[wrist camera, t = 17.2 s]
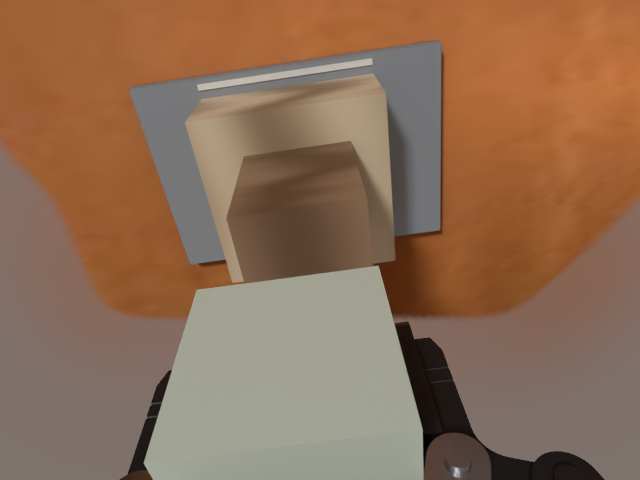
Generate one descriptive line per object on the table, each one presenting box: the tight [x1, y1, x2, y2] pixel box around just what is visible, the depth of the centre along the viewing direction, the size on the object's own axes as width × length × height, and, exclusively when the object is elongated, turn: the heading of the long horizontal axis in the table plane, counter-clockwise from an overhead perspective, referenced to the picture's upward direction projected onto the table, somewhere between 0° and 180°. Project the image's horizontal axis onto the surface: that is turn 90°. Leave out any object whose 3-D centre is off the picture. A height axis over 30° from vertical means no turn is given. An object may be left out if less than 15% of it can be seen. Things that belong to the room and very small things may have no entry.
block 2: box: [144, 266, 424, 480], centre depth 11 cm, size 5×5×5 cm
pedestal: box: [185, 74, 396, 283], centre depth 24 cm, size 9×9×4 cm
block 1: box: [226, 141, 373, 284], centre depth 20 cm, size 5×5×6 cm
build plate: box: [129, 40, 441, 264], centre depth 26 cm, size 16×11×1 cm
